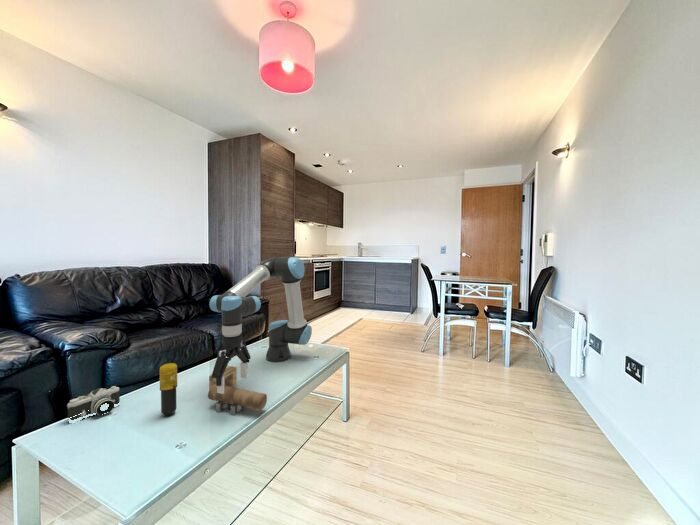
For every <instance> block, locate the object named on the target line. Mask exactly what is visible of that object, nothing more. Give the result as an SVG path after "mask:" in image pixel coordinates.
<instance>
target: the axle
mask: <svg viewBox="0 0 700 525" xmlns="http://www.w3.org/2000/svg"><path fill="white" fill-rule="evenodd" d="M207 397H208V399H209V400H212V401H216V402H218V401H221V402H223V403H225V404H226V403H229V404H236V405H238V406H243V407H245V408H248V409H253V410H257V411H262V410H263V409H264V408H265V406H266V405H267V402H268V396H267V394H266V393H262V392H259V391H258V392H257V391H254V390H247V389H245V388H244V389H243V388H238V387H229V386H224V394H220V393H217V385H216V384H214V385H212V386H211V388H210V389H208V392H207Z"/></svg>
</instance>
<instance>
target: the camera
mask: <svg viewBox="0 0 700 525" xmlns="http://www.w3.org/2000/svg"><path fill="white" fill-rule="evenodd" d="M120 399H121V398H120V387H118V386H116V385H113V386H111V387H110V388H108V389H107V388H104V387H99V388H96V389H93V390H91V392H90V393H88V394H85V395H81V396H78V397H77V398H72V399H70V400H69V402H68V403H67V405H66V407H67V419H68V418H70V417H72V418H70V419H71V420H74V419H77V418H79V417H83V416H86V415H88V414H93V413H96V414H97V415H96V416H99V415H102V414H104V413H107V412H109V411H110V412H112V411H113V409H114V408H113V407H114V404H118V403H119V402H120V403H121V401H120ZM105 403H107V404H109V407H108V409H107V410H105V411H101V410H100V407H101V405H103V404H105ZM88 410H89V411H88ZM83 412H84V413H83ZM110 412H109V413H110ZM80 413H82V414H80ZM78 414H80V415H78ZM75 415H77V416H75ZM73 416H75V417H73Z"/></svg>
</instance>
